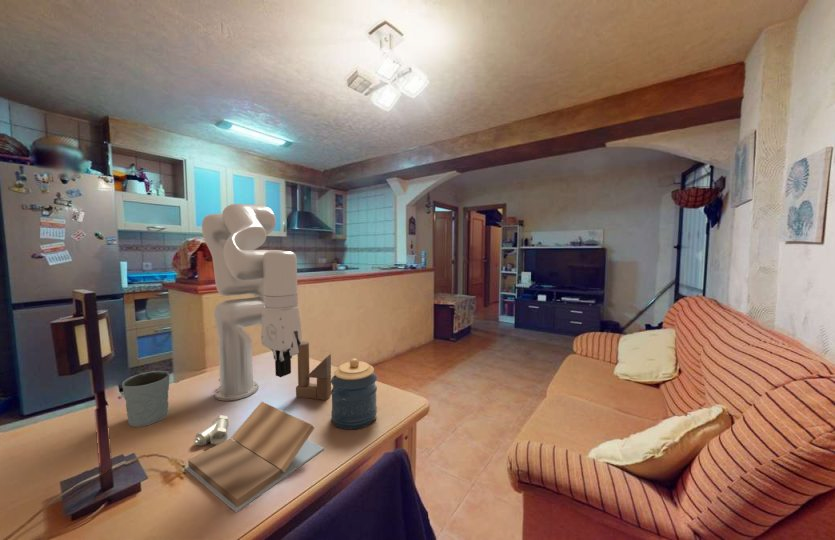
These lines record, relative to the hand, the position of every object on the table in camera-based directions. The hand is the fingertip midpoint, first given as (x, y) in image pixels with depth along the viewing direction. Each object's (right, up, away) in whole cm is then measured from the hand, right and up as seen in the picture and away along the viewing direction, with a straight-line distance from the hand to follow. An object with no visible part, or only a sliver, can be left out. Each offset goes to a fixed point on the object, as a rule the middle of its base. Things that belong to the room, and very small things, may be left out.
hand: (283, 374), depth 76 cm
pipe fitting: (-20, -18, +3) cm, 27 cm away
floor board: (-7, -18, -9) cm, 21 cm away
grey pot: (-44, -17, +12) cm, 48 cm away
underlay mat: (-4, -18, -4) cm, 19 cm away
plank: (-2, -14, -1) cm, 15 cm away
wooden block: (-1, -16, +25) cm, 30 cm away
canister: (+15, -17, +13) cm, 26 cm away
